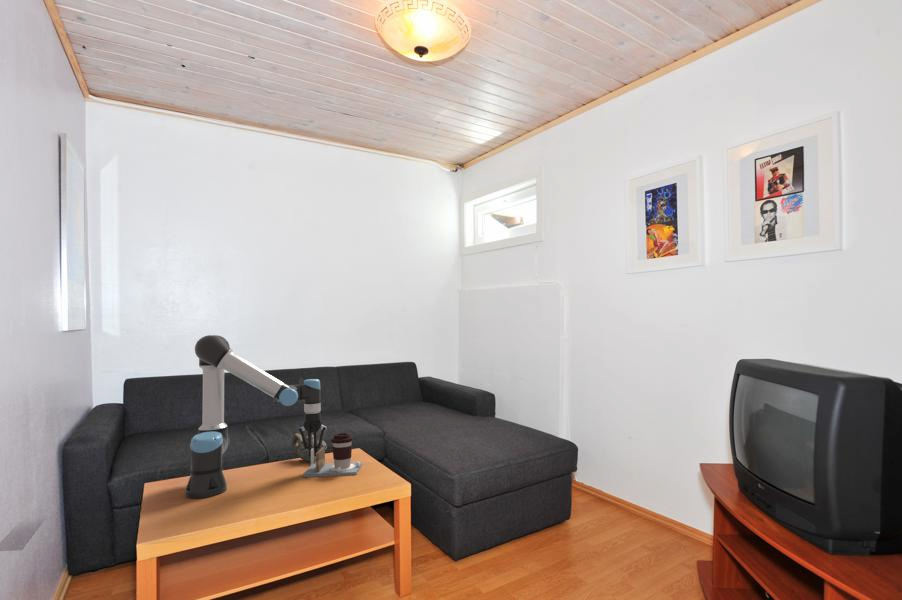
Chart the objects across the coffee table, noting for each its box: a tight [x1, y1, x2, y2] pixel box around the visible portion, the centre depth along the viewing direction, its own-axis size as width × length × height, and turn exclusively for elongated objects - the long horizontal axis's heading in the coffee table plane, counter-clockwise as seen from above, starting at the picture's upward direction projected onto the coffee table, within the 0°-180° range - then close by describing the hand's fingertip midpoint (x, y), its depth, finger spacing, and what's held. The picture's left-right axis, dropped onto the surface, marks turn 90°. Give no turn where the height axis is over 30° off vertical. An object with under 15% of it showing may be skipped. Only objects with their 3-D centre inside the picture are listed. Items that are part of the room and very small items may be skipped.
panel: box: [315, 447, 326, 471], centre depth 217 cm, size 3×12×8 cm, turn 2°
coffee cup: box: [330, 432, 354, 469], centre depth 217 cm, size 10×10×15 cm
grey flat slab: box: [302, 461, 363, 478], centre depth 217 cm, size 24×17×3 cm
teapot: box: [291, 431, 328, 462], centre depth 236 cm, size 21×12×15 cm, turn 68°
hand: (313, 463), depth 216 cm, fingers closed
